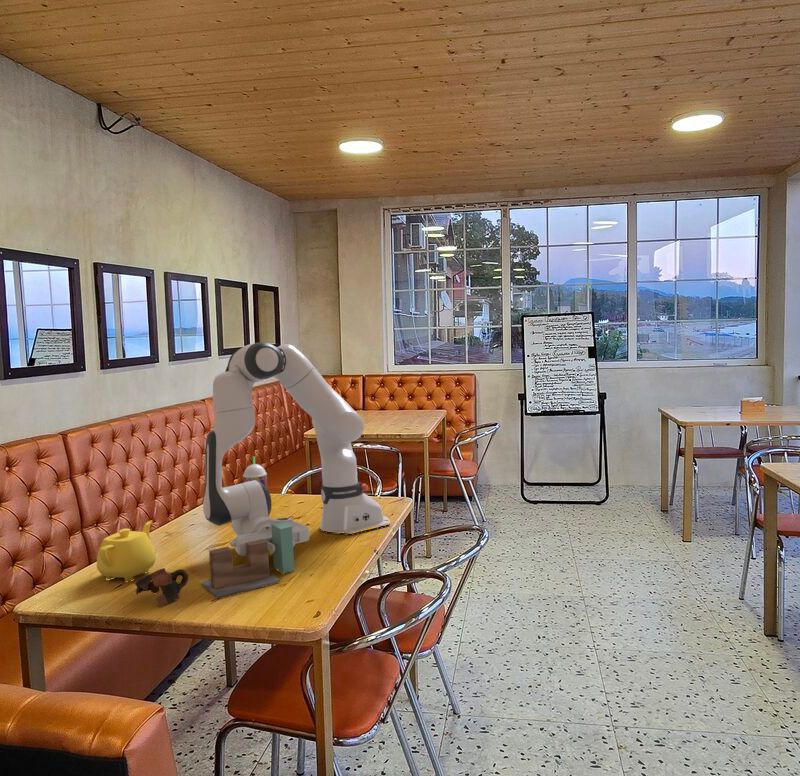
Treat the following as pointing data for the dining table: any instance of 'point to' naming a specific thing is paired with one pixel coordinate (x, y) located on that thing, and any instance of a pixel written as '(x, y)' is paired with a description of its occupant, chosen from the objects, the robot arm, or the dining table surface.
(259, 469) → the smoothie
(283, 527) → the teal green rectangular block
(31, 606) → the dining table surface
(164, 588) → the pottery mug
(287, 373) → the robot arm
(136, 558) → the teapot
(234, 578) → the walnut slotted plate
